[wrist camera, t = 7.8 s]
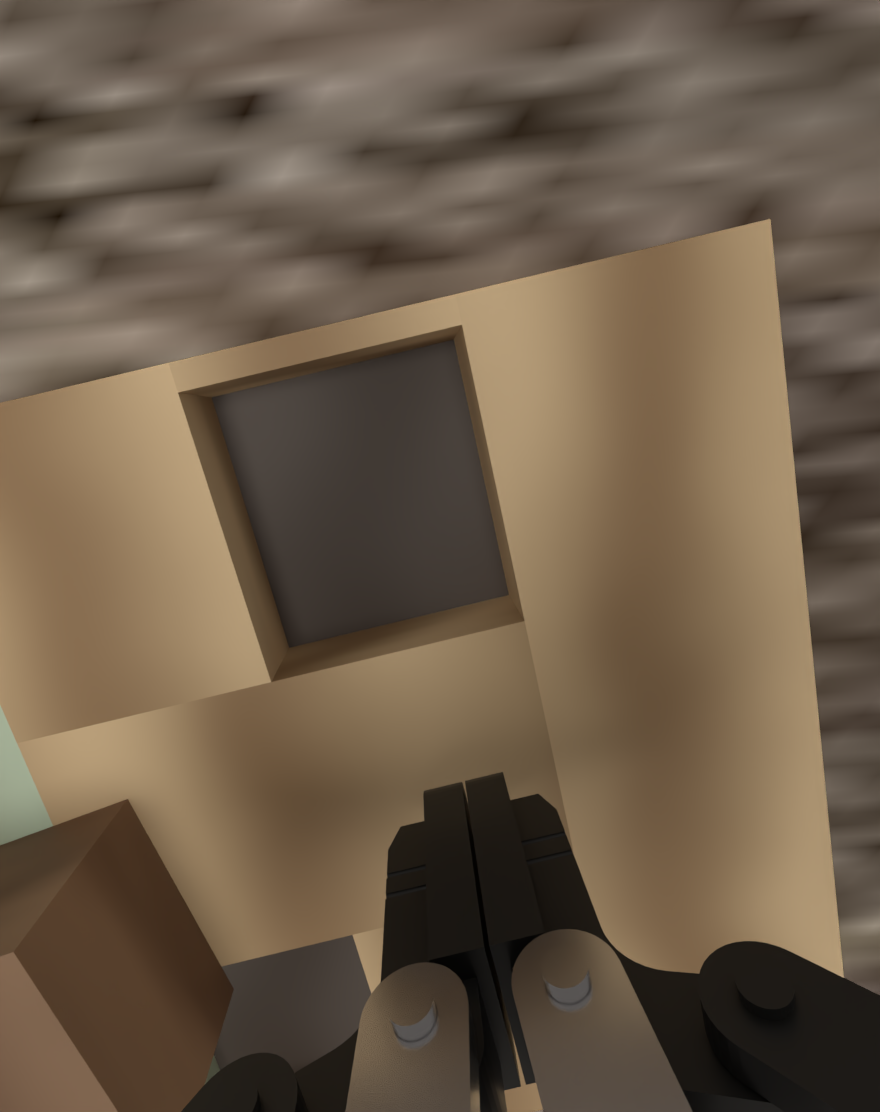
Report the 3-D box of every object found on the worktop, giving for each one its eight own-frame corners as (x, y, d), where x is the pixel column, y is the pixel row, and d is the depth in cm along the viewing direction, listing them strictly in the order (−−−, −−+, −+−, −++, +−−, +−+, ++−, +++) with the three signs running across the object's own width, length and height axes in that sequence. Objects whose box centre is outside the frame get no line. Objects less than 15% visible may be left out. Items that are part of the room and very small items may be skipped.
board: (711, 252, 12) (817, 191, 9) (795, 960, 16) (889, 1090, 13) (-300, 494, 12) (-549, 517, 9) (37, 1144, 16) (-53, 1319, 13)
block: (127, 798, 12) (12, 952, 8) (233, 989, 13) (171, 1193, 9) (-104, 883, 12) (-311, 1068, 8) (20, 1064, 13) (-117, 1292, 10)
